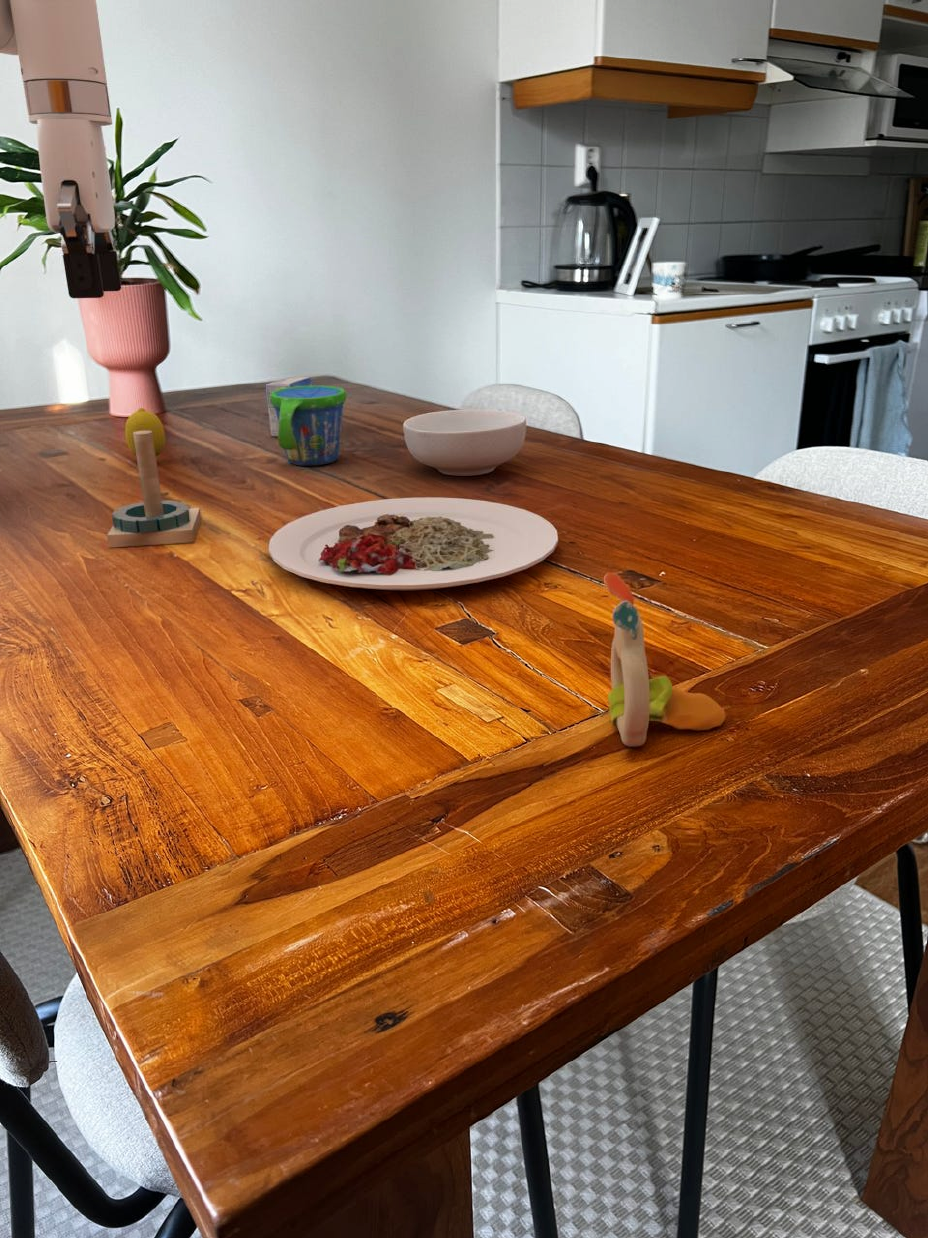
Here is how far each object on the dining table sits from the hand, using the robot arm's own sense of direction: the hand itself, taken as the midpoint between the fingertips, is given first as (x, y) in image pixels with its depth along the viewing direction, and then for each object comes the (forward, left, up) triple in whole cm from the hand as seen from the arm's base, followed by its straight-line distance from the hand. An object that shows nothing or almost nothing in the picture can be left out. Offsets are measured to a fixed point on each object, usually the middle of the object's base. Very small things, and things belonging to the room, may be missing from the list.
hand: (96, 294), depth 99 cm
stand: (+3, 0, -26) cm, 26 cm away
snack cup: (+21, +32, -26) cm, 46 cm away
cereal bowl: (+42, +22, -26) cm, 54 cm away
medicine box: (+18, +54, -26) cm, 63 cm away
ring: (+2, 0, -24) cm, 25 cm away
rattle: (+43, -55, -26) cm, 74 cm away
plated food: (+31, -13, -26) cm, 42 cm away
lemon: (-3, +37, -26) cm, 46 cm away
